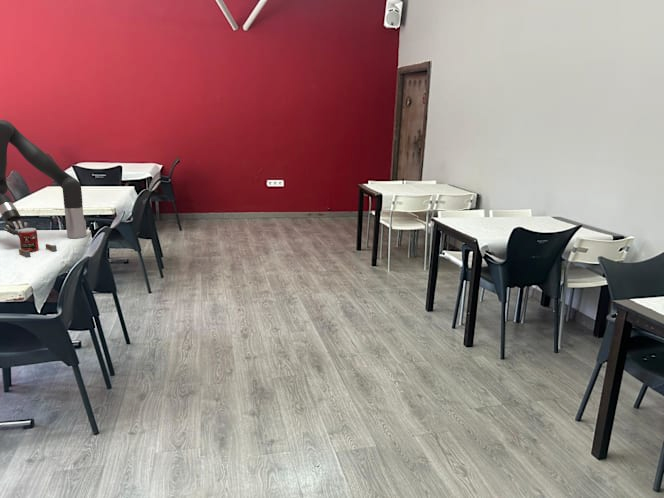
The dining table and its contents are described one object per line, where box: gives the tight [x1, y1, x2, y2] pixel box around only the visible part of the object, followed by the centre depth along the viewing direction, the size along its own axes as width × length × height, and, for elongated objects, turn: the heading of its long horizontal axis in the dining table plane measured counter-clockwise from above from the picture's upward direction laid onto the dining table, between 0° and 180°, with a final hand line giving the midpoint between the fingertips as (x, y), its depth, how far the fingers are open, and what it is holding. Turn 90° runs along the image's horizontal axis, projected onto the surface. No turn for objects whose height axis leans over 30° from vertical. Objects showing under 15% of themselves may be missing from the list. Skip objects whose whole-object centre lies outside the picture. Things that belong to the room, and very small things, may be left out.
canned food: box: [18, 227, 40, 253], centre depth 256 cm, size 8×8×11 cm
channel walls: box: [18, 243, 53, 257], centre depth 254 cm, size 14×6×2 cm, turn 148°
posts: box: [24, 244, 58, 258], centre depth 252 cm, size 15×2×3 cm, turn 148°
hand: (24, 239), depth 259 cm, fingers closed
